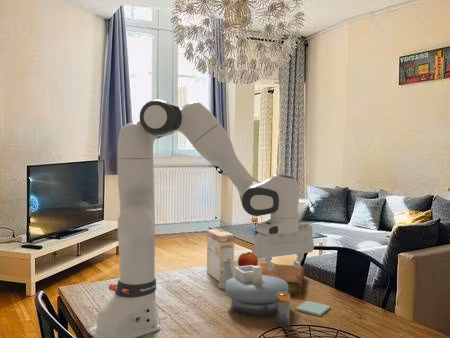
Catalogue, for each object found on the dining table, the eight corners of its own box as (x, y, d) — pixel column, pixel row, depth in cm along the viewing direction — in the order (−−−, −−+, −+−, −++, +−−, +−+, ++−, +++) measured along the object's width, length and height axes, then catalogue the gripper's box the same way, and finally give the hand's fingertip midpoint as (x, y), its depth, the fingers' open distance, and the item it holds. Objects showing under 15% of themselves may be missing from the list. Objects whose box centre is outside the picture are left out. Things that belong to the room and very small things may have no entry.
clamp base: (265, 321, 144) (265, 306, 143) (220, 308, 154) (221, 294, 154) (291, 305, 158) (291, 291, 158) (249, 294, 169) (249, 281, 168)
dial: (300, 297, 150) (300, 271, 150) (242, 307, 141) (242, 279, 141) (268, 279, 170) (268, 256, 170) (216, 286, 162) (216, 262, 161)
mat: (319, 316, 148) (319, 314, 148) (295, 310, 153) (295, 307, 153) (330, 308, 155) (330, 306, 155) (307, 302, 160) (307, 300, 160)
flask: (234, 290, 173) (234, 265, 173) (216, 289, 175) (216, 264, 174) (237, 285, 180) (237, 261, 180) (219, 283, 182) (220, 259, 181)
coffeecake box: (234, 280, 186) (234, 234, 185) (218, 282, 184) (219, 235, 183) (221, 270, 200) (221, 228, 199) (206, 272, 198) (206, 229, 196)
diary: (300, 297, 168) (300, 282, 168) (251, 293, 173) (252, 278, 172) (303, 278, 191) (304, 265, 190) (260, 275, 195) (261, 262, 194)
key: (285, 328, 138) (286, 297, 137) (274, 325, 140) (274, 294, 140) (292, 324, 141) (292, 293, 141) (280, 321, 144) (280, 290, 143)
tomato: (260, 271, 199) (261, 254, 199) (241, 273, 197) (241, 255, 196) (253, 266, 208) (254, 249, 208) (235, 267, 206) (235, 250, 205)
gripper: (306, 221, 146) (306, 262, 147) (251, 226, 138) (251, 269, 139) (317, 224, 140) (317, 267, 141) (261, 229, 132) (261, 275, 133)
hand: (284, 268), depth 140 cm, fingers open, 8 cm apart
